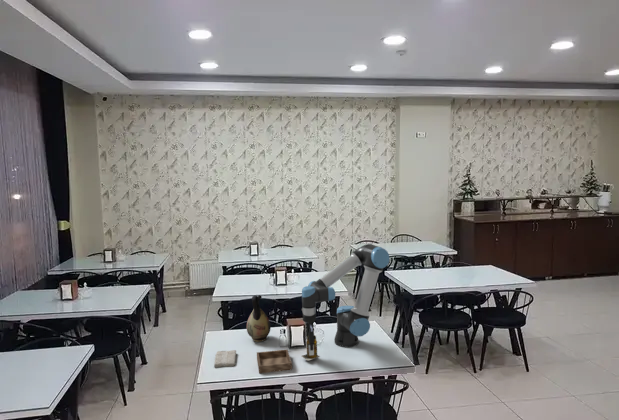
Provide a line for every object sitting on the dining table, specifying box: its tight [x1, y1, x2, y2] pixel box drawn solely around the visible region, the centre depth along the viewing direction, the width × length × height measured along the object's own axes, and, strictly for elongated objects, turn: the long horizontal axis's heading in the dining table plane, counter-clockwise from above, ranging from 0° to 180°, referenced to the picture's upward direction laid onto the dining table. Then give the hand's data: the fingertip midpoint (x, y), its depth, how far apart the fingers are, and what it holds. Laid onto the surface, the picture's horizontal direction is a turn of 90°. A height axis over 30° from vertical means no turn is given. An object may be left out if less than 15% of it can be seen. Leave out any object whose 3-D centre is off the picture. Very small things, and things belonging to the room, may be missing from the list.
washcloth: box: [213, 349, 237, 368], centre depth 255 cm, size 12×18×3 cm, turn 8°
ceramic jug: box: [246, 294, 272, 343], centre depth 282 cm, size 17×15×30 cm
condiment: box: [301, 334, 321, 362], centre depth 252 cm, size 7×8×12 cm
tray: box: [256, 349, 293, 374], centre depth 248 cm, size 18×18×4 cm
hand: (310, 352), depth 253 cm, fingers closed on condiment, 6 cm apart
